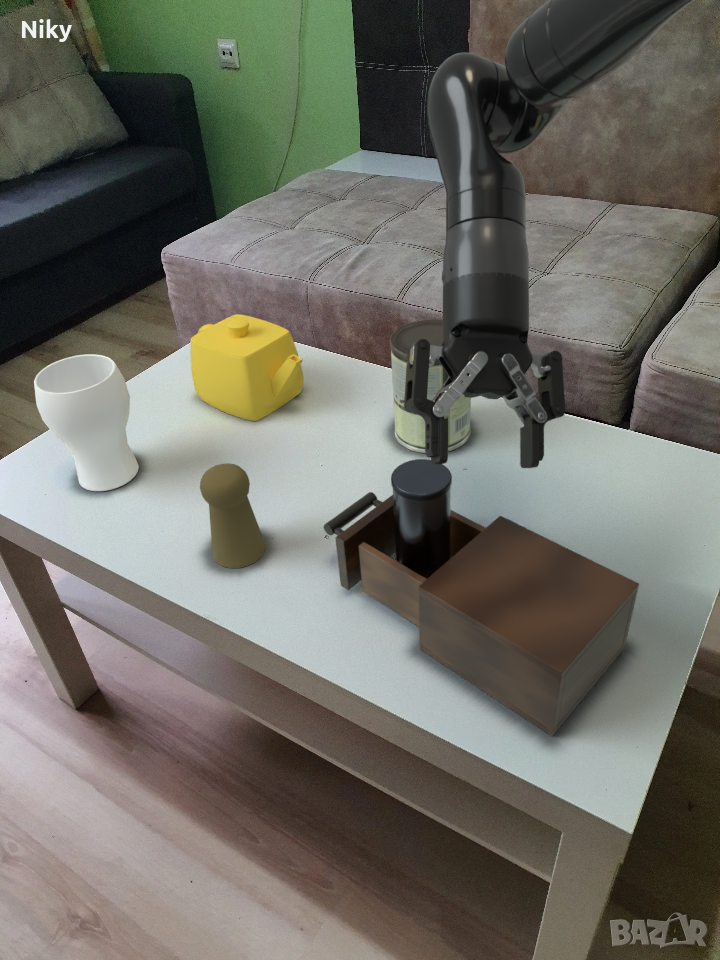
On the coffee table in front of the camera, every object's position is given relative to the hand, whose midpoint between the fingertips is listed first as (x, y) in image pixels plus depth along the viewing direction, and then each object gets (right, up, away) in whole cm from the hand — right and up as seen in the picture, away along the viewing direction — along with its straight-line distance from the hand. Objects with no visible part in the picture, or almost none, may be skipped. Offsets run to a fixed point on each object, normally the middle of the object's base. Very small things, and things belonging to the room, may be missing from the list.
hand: (485, 465), depth 66 cm
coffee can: (-1, +5, +36) cm, 36 cm away
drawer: (-6, -11, +14) cm, 19 cm away
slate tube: (-4, -11, +12) cm, 17 cm away
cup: (-44, -1, +33) cm, 55 cm away
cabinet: (+4, -17, +6) cm, 19 cm away
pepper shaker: (-25, -9, +20) cm, 33 cm away
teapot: (-26, +11, +47) cm, 55 cm away
